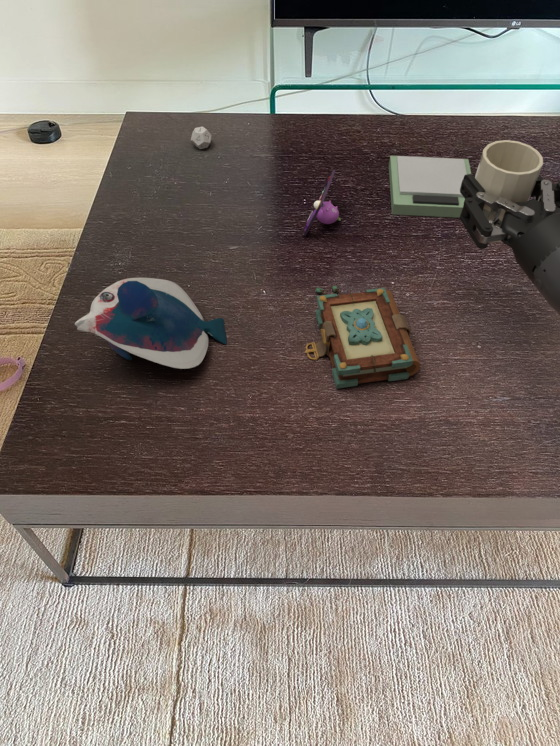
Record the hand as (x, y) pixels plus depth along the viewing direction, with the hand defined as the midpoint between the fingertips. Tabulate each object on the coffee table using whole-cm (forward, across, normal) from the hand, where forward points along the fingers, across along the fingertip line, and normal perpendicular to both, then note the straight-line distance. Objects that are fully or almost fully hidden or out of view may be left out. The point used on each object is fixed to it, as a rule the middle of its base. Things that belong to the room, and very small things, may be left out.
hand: (493, 175), depth 74 cm
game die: (+44, +28, +18) cm, 55 cm away
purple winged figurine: (+18, +14, +18) cm, 29 cm away
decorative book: (-5, +18, +18) cm, 26 cm away
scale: (+21, -5, +18) cm, 28 cm away
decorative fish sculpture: (+1, +43, +18) cm, 46 cm away
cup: (-2, 0, +6) cm, 6 cm away
